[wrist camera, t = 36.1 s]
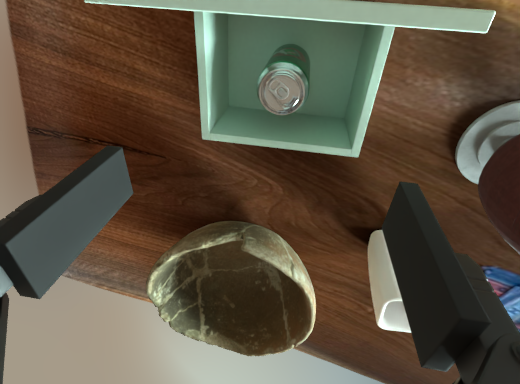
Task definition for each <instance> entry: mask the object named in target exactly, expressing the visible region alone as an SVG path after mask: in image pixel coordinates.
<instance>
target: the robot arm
mask: <svg viewBox="0 0 520 384" xmlns="http://www.w3.org/2000/svg"><path fill="white" fill-rule="evenodd" d="M132 194H133V190H132V186H131V182H130V178H129V174H128V169H127V165H126V161H125V157H124V153H123V149H122V147H115V146H106V147H105V148H104V149H102V150H101V151H100V152H98V153H97V154H96V155H94V156H93V157H92V158H90V159H89V160H88V161H86V162H85V163H84V164H82V165H81V166H80V167H78V168H77V169H76V170H75V171H73V172H72V173H71V174H69V175H68V176H67V177H65V178H64V179H63V180H61V181H60V182H59V183H57V184H56V185H55V186H53V187H52V188H51V189H49V190H48V191H47V192H46V193H44V194H43V195H39V196H37V197H34V198H32V199H30V200H28V201H26V202H25V203H23V204H22V205H21V206H19V207H18V208H17V209H15V211H13V212H11V213H10V214H8V215H7V216H6V218H5V219H4V218H3V219H2V220H0V384H2V383H3V370H4V357H5V344H6V332H7V318H8V306H9V298H8V295H7V293H6V292H7V291H8V290H9V289H10V288H11V286H14V287H15V289H16V290H17V292H18V293H19V294H20V296H25V297H31V298H36V299H40V298H41V297H42V296H43V295H44V294H45V293H46V291H47V290H48V289H49V288H50V287H51V286H52V285H53V284H54V283H55V281H56V280H57V279H58V278H59V277H60V276H61V275H62V274H63V272H64V271H65V270H66V269H67V268H68V267H69V266H70V264H71V263H72V262H73V261H74V260H75V259H76V258H77V257H78V255H79V254H80V253H81V252H82V251H83V250H84V249H85V247H86V246H87V245H88V244H89V243H90V242H91V241H92V240H93V238H94V237H95V236H96V235H97V234H98V233H99V232H100V230H101V229H102V228H103V227H104V226H105V225H106V224H107V223H108V221H109V220H110V219H111V218H112V217H113V216H114V215H115V213H116V212H117V211H118V210H119V209H120V208H121V207H122V206H123V204H124V203H125V202H126V201H127V200H128V199H129V198H130V196H131V195H132ZM382 231H383V234H384V238H385V241H386V245H387V248H388V252H389V256H390V259H391V263H392V266H393V270H394V273H395V277H396V280H397V284H398V287H399V291H400V294H401V298H402V301H403V305H404V308H405V312H406V315H407V319H408V322H409V326H410V329H411V333H412V336H413V340H414V343H415V347H416V350H417V354H418V357H419V361H420V364H421V367H423V368H429V369H434V370H440V371H445V372H447V371H448V370H449V369H450V368H451V366H452V365H453V364H454V363H456V366H457V368H458V371H459V373H460V377H459V378H458V379H457V380H456V381H455V382H454V383H453V384H520V333H519V331H518V329H517V328H516V326H515V324H514V323H513V321H512V319H511V318H510V316H509V314H508V313H507V311H506V309H505V308H504V306H503V304H502V303H501V301H500V299H499V298H498V296H497V294H496V293H494V289H493V288H492V286H491V284H490V283H489V282H487V280H488V279H487V278H486V276H485V274H484V273H483V271H482V269H481V268H480V266H479V265H478V264H477V263H476V262H475V261H473V260H472V259H471V258H470V257H469V256H468V255H467V254H460V253H454V251H453V249H452V247H451V245H450V244H449V242H448V240H447V238H446V236H445V234H444V232H443V231H442V229H441V227H440V225H439V223H438V221H437V219H436V217H435V216H434V214H433V212H432V210H431V208H430V206H429V204H428V202H427V201H426V199H425V197H424V195H423V193H422V191H421V189H420V187H419V186H418V184H415V183H407V182H399V185H398V188H397V190H396V193H395V195H394V198H393V200H392V203H391V205H390V208H389V210H388V213H387V215H386V218H385V220H384V223H383V225H382Z"/></svg>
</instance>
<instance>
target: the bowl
mask: <svg viewBox="0 0 520 384" xmlns="http://www.w3.org/2000/svg"><path fill="white" fill-rule="evenodd" d="M146 292H147V295H148V297H149V299H150V300H152V302H153V304H154V305H155V307H158V311H159V316H160V317H161V318H162V319H163V320H164V321H165V322H169V325H170V327H171V328H172V329H174V330H175V331H176V332H179V333H181V334H183V335H184V336H187V337H190V338H192V339H195V340H197V341H199V340H200V341H203V342H206V343H208V344H211V345H217V346H219V347H222V348H225V349H228V350H231V351H234V352H237V353H240V354H243V355H247V356H264V355H269V354H276V353H282V352H285V351H288V350H290V349H291V348H293V347H294V345H295V346H297V345H299V344H301V343H302V342H303V341H305V340H306V339H307V337H308V336H309V335H310V333H311V331H312V329H313V326H314V321H315V314H316V301H315V294H314V290H313V286H312V283H311V280H310V278H309V275H308V273H307V270H306V268H305V267H304V265H303V263H302V262H301V260H300V258H299V257H298V255H297V254H296V253H295V251H294V250H293V249H292V248H291V247H290V246H289V244H288V243H287V242H286V241H285V240H283V239H282V238H281V237H280V236H279V235H278V234H276V233H274V232H273V231H271V230H269V229H267V228H264V227H262V226H258V225H255V224H251V223H246V222H240V221H221V222H216V223H212V224H209V225H206V226H204V227H202V228H199V229H197V230H195V231H193V232H192V233H190V234H188V235H187V236H185V237H184V238H183V239H181V240H180V241H179V242H177V243H176V244H175V245H173V246H172V247H171V248H170V249H169V250H168V251H166V252H165V253H164V254H163V255H162V256H161V257H160V258H159V259H158V260H157V262H156V263H155V264H154V266H153V267H152V269H151V271H150V273H149V275H148V278H147V281H146Z"/></svg>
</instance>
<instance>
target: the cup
mask: <svg viewBox="0 0 520 384" xmlns="http://www.w3.org/2000/svg"><path fill="white" fill-rule="evenodd" d="M368 267H369V278H370V286H371V293H372V299H373V305H374V311H375V316H376V321H377V325H378V326H379V327H381V328H383V329H386V330H393V331H402V332H411V329H410V326H409V322H408V319H407V315H406V312H405V308H404V305H403V301H402V298H401V294H400V291H399V287H398V284H397V280H396V277H395V273H394V270H393V266H392V263H391V259H390V256H389V252H388V248H387V245H386V241H385V238H384V234H383V231H382V230H376V231H374V232H373V233H372V234H371V236H370V240H369V244H368Z"/></svg>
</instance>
